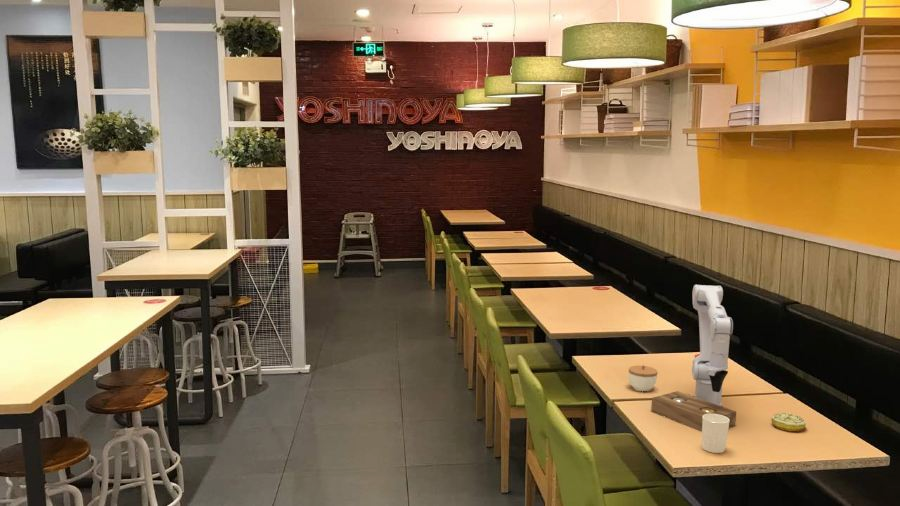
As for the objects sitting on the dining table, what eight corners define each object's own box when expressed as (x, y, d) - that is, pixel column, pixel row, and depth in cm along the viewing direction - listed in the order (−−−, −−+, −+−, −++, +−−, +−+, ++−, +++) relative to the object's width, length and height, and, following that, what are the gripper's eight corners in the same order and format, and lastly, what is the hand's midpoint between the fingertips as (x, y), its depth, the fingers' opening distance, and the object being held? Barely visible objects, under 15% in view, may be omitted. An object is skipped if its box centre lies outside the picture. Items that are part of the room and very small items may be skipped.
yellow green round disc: (809, 427, 249) (810, 416, 248) (799, 436, 241) (800, 425, 240) (777, 419, 256) (778, 408, 255) (766, 427, 248) (767, 416, 247)
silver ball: (677, 409, 261) (677, 396, 260) (686, 412, 258) (687, 400, 257) (669, 411, 259) (670, 398, 258) (679, 414, 256) (679, 402, 255)
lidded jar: (623, 389, 282) (624, 366, 280) (633, 382, 290) (635, 359, 289) (650, 395, 276) (652, 371, 274) (660, 388, 284) (661, 365, 283)
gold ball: (705, 419, 251) (706, 407, 251) (715, 423, 248) (716, 410, 247) (698, 422, 249) (699, 409, 248) (708, 425, 246) (709, 413, 245)
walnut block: (676, 404, 267) (677, 390, 267) (735, 425, 248) (736, 411, 247) (651, 411, 259) (652, 397, 259) (709, 434, 240) (710, 419, 239)
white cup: (695, 443, 232) (698, 413, 230) (719, 443, 233) (722, 413, 231) (706, 454, 224) (709, 423, 223) (731, 454, 225) (734, 422, 223)
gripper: (714, 346, 257) (711, 383, 259) (700, 354, 245) (697, 393, 247) (735, 350, 253) (731, 388, 254) (721, 358, 241) (718, 398, 243)
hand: (716, 391), depth 251 cm, fingers closed
